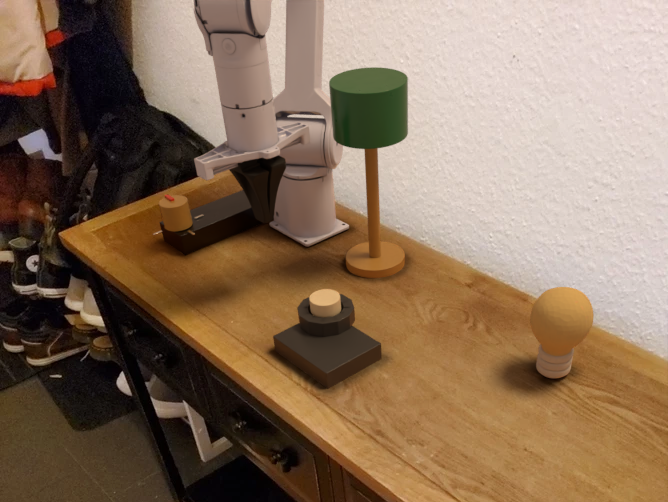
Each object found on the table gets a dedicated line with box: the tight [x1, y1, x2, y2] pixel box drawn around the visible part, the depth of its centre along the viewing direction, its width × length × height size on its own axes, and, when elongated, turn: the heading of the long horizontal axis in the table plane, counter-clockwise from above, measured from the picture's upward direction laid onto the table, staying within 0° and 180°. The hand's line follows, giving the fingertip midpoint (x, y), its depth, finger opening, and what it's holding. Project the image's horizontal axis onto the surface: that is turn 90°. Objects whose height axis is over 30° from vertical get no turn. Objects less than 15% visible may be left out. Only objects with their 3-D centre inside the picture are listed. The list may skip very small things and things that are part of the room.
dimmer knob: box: [158, 194, 193, 231], centre depth 104 cm, size 4×4×4 cm
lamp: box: [328, 66, 409, 279], centre depth 93 cm, size 9×9×23 cm
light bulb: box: [529, 286, 594, 379], centre depth 79 cm, size 6×6×10 cm
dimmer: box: [152, 189, 264, 257], centre depth 109 cm, size 20×8×3 cm, turn 131°
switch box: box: [272, 293, 383, 390], centre depth 86 cm, size 11×10×4 cm
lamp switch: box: [308, 288, 341, 318], centre depth 86 cm, size 4×4×2 cm
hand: (264, 219), depth 90 cm, fingers closed
